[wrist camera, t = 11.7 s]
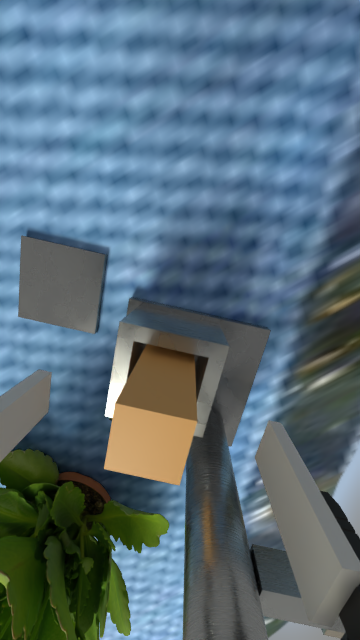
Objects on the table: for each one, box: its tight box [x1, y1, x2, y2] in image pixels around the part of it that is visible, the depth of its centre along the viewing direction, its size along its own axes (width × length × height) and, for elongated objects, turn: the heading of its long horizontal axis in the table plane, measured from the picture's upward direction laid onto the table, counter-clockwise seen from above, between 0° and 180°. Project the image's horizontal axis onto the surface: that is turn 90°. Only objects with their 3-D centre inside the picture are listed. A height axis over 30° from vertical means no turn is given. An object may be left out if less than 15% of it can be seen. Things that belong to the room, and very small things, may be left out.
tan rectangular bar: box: [104, 344, 197, 485], centre depth 17 cm, size 4×4×12 cm
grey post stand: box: [105, 297, 346, 640], centre depth 14 cm, size 14×19×22 cm
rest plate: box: [18, 236, 107, 334], centre depth 22 cm, size 8×8×1 cm
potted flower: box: [0, 449, 169, 640], centre depth 21 cm, size 25×24×18 cm
